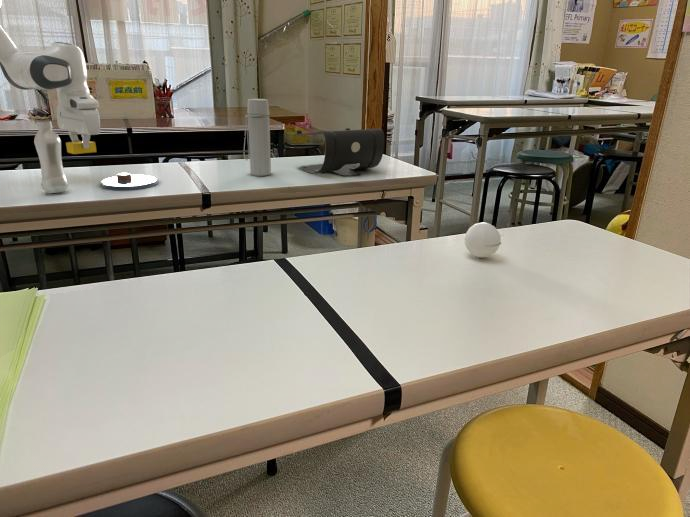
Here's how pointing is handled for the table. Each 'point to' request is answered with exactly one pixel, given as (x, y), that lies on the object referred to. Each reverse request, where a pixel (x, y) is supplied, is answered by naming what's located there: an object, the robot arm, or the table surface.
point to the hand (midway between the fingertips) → (81, 146)
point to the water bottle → (258, 137)
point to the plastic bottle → (50, 158)
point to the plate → (129, 183)
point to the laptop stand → (349, 151)
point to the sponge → (80, 147)
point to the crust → (123, 176)
